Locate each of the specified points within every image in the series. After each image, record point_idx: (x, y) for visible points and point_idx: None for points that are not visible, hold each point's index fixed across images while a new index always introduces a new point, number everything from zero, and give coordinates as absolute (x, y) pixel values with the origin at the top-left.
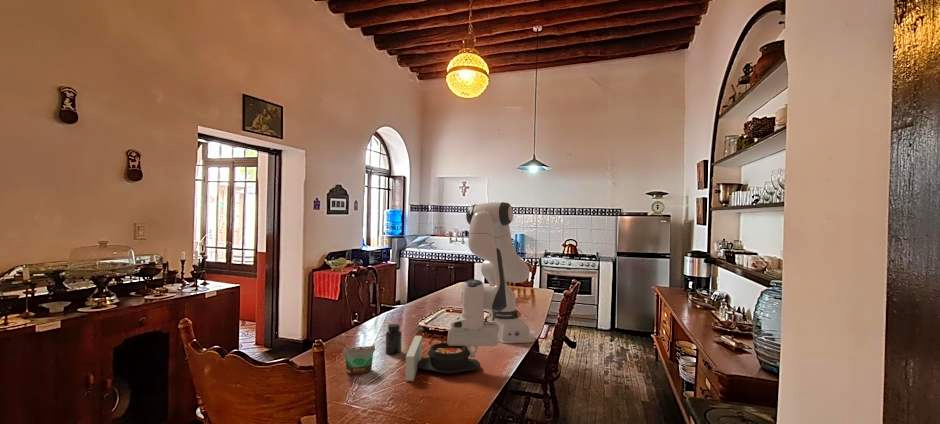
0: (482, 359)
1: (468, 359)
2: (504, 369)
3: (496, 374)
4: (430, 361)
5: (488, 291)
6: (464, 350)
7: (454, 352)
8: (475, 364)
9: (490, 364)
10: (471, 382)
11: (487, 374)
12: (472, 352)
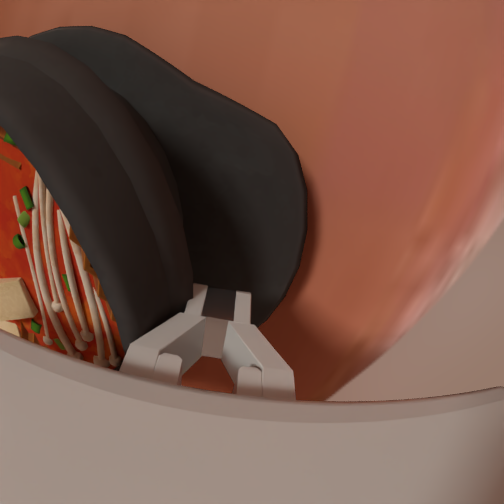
0: (378, 27)
1: (208, 138)
2: (443, 267)
3: (363, 328)
4: None
5: None
6: (110, 314)
7: (26, 269)
8: (252, 276)
9: (408, 158)
10: (200, 384)
11: (313, 324)
12: (211, 351)
